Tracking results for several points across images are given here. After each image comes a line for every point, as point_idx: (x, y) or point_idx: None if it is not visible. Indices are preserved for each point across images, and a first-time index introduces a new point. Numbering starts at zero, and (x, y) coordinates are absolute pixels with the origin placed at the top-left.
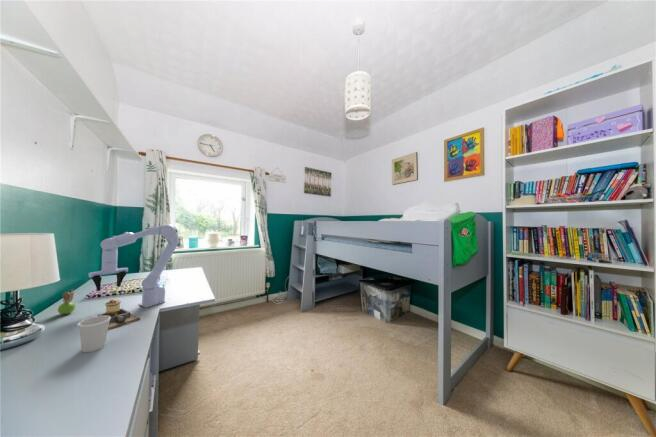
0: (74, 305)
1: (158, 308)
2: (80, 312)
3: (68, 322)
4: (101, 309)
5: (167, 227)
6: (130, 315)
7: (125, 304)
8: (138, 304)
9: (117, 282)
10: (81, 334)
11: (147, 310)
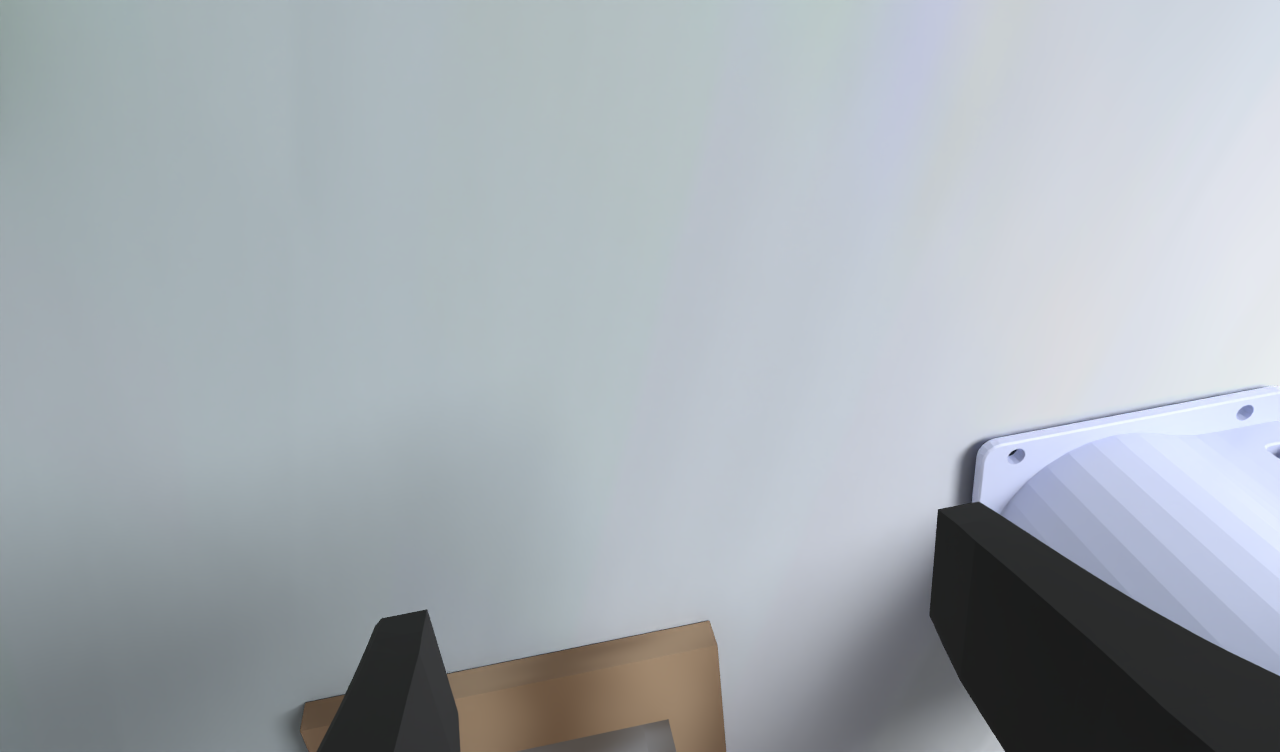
0: None
1: None
2: (156, 131)
3: (38, 561)
4: (504, 246)
5: None
6: None
7: (877, 260)
8: (976, 462)
9: (1018, 637)
10: None
11: (913, 731)
